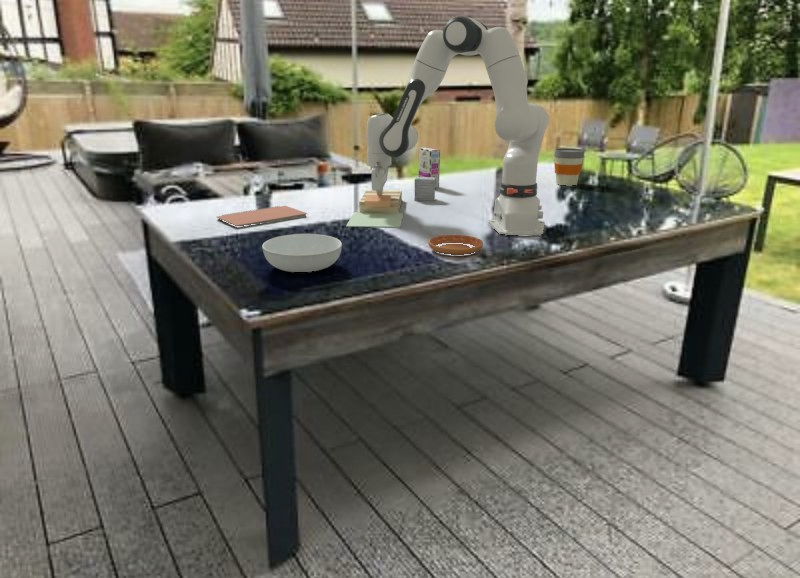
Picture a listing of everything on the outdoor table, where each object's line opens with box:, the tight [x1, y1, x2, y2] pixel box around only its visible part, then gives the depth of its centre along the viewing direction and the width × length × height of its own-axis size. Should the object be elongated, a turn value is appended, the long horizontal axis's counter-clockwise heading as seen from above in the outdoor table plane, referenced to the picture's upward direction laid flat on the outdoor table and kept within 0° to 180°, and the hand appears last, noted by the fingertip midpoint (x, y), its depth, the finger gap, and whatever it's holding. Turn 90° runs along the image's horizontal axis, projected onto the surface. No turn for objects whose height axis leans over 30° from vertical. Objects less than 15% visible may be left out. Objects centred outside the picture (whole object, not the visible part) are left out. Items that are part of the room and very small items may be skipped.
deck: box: [358, 189, 403, 213], centre depth 238 cm, size 22×14×4 cm, turn 176°
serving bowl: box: [261, 233, 343, 273], centre depth 168 cm, size 21×21×7 cm
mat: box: [345, 211, 404, 228], centre depth 219 cm, size 20×18×1 cm
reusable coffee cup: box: [553, 147, 585, 187], centre depth 277 cm, size 13×13×15 cm
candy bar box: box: [418, 147, 441, 189], centre depth 272 cm, size 11×5×16 cm, turn 25°
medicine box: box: [414, 176, 436, 202], centre depth 248 cm, size 8×4×9 cm, turn 84°
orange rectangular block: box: [364, 195, 391, 207], centre depth 226 cm, size 6×9×2 cm, turn 86°
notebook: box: [216, 205, 308, 226], centre depth 222 cm, size 27×17×2 cm, turn 129°
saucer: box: [428, 234, 484, 255], centre depth 184 cm, size 16×16×3 cm
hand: (379, 198), depth 230 cm, fingers closed
